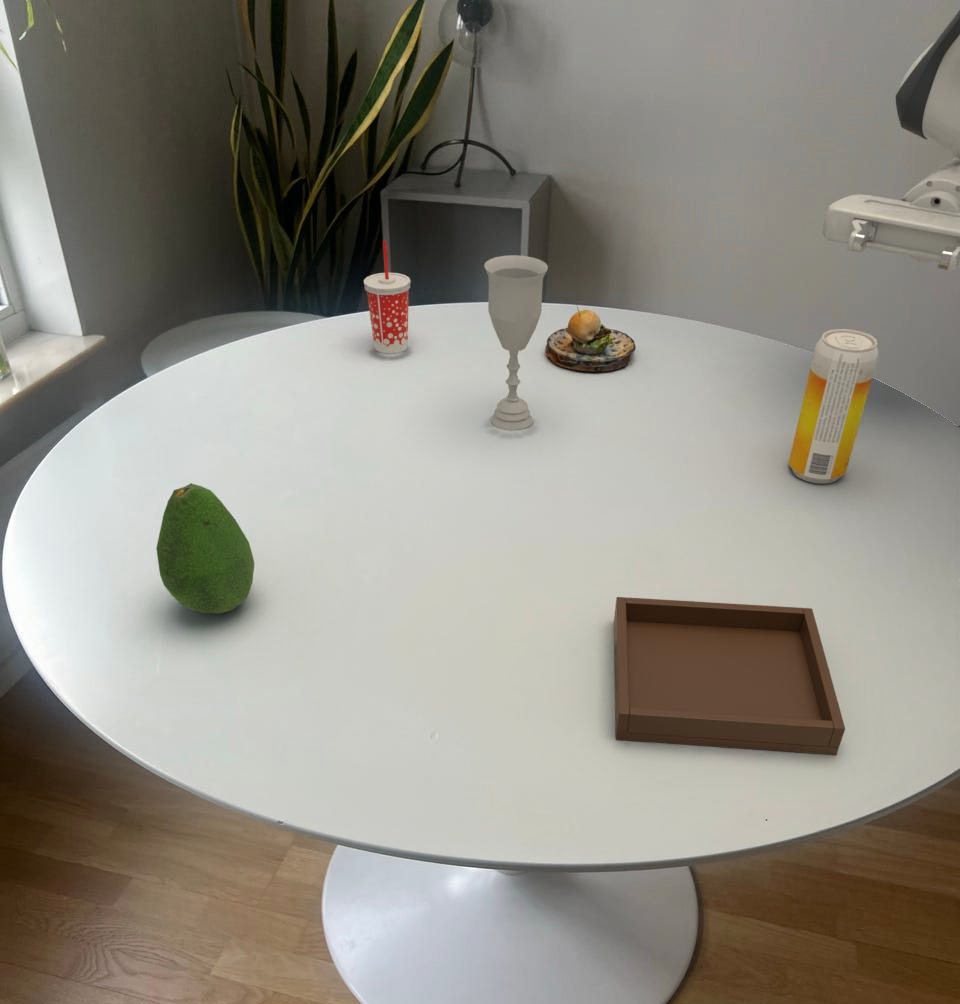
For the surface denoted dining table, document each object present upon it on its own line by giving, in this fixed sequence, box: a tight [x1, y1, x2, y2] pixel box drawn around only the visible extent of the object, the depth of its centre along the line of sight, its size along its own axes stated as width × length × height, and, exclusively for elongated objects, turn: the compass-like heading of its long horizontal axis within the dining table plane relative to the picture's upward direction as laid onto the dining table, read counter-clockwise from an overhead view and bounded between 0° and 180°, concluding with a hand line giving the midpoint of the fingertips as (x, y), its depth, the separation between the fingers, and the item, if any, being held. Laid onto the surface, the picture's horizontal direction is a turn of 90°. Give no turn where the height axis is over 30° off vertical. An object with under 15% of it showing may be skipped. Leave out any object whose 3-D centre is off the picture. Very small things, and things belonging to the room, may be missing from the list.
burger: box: [545, 303, 637, 372], centre depth 127 cm, size 12×12×8 cm
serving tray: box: [613, 596, 846, 756], centre depth 78 cm, size 17×15×3 cm
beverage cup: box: [363, 239, 412, 355], centre depth 127 cm, size 6×6×14 cm
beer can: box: [788, 328, 880, 484], centre depth 101 cm, size 6×6×15 cm
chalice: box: [483, 254, 549, 431], centre depth 109 cm, size 7×7×18 cm
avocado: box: [156, 483, 255, 615], centre depth 83 cm, size 8×8×12 cm
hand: (900, 252), depth 100 cm, fingers open, 8 cm apart
